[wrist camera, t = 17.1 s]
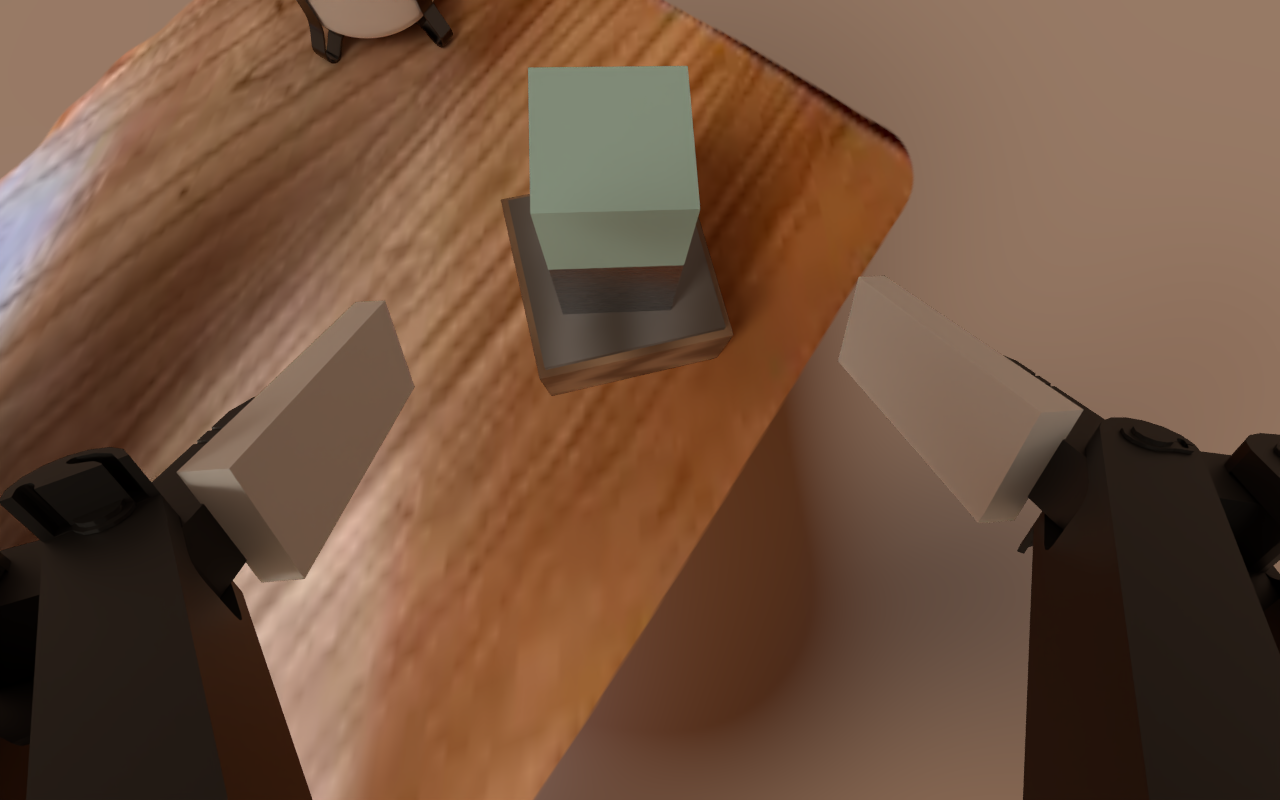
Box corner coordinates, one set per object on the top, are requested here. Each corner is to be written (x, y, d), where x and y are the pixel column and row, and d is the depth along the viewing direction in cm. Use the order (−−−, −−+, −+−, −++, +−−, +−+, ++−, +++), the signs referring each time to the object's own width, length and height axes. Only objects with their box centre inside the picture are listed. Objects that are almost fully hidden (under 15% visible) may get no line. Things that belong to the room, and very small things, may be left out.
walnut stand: (551, 396, 36) (538, 377, 30) (517, 241, 38) (498, 195, 32) (716, 357, 37) (735, 332, 31) (674, 209, 39) (683, 159, 33)
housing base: (562, 314, 31) (548, 268, 24) (559, 216, 32) (545, 147, 26) (670, 310, 31) (684, 263, 25) (663, 213, 32) (674, 144, 26)
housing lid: (548, 269, 24) (530, 213, 19) (545, 123, 26) (527, 36, 21) (684, 265, 25) (700, 209, 20) (672, 120, 26) (684, 35, 21)
